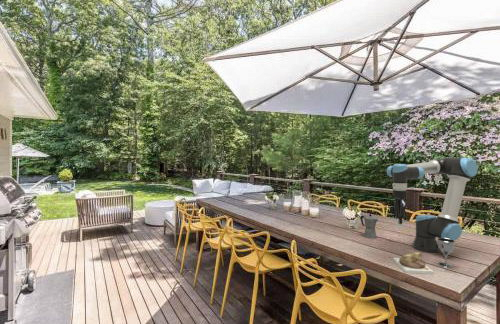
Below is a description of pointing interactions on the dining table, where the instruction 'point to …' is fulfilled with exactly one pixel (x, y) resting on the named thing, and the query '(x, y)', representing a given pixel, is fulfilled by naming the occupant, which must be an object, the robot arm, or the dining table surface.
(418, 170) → the robot arm
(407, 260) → the capstan dial
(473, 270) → the dining table surface
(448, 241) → the wine glass
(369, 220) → the coffeepot
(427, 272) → the base plate
